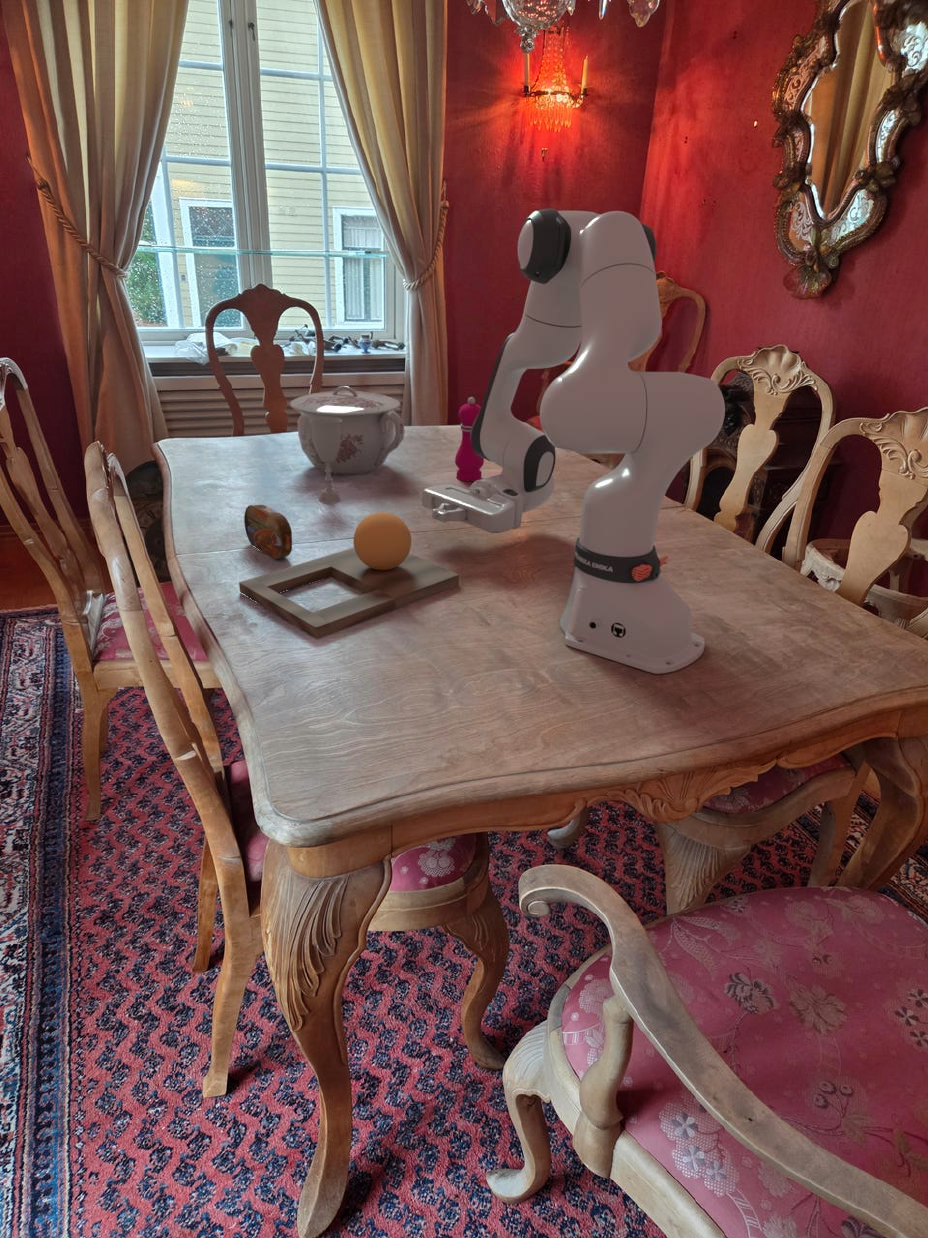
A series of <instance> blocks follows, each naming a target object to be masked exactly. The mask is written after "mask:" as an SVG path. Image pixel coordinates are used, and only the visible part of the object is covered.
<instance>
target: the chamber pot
mask: <svg viewBox="0 0 928 1238" xmlns="http://www.w3.org/2000/svg"><path fill="white" fill-rule="evenodd" d="M401 405H402V404H401V402H400V401H399V400H398V399H396V398H394V397H392V396H388V395H386V394H380V393H376V392H370V391H369V392H368V391H361V390H359V391H358V390H354V389H353V388H352V387H350V386H348V385H340V386H337V387H336V388H335V389H334V390H331V391H329V390H328V391H321V392H320V391H319V392H315V393H308V394H305V395H302V396H299V397H296V398H293V400H291V401H290V402H289V407H291V408H292V409H293V410H295V411H297V412H299V413H300V416H299V417H298V419H297V433H298V434H297V435H298V439H299V443H300V446H301V450H302V451H303V453H304V454H305V456H306V457H307V459H308V461H309V462H310V463H311V464H312V465H313V466H314V467H315V468H316V469H318V470H320V471H323V472H325V470H326V463H325V462H323V461H321V459H320V457H319V455H318V453H317V451H316V449H315V447H314V444H313V437H312V425H311V423H310V421H309V420H310V419H311V418H315V417H335V418H339V419H342V422H341V424H340V434H341V444H340V447H339V451H338V453H337V455H336V458H335V460H334V461H333V462H331V463H330V468H331V470H332V472H331V475H336V474H337V475H338V476H356V475H357V476H358V474H359V475H363V474H367V473H370V472H373V471H376V470H378V469H379V468H381V467H382V466H383V464H384V463H385V462H386V460H387V458H388V457H389V455H390V453H392V452H394V451H395V450H396V449H398V447H399V446H400V445H401V443H402V442H403V440H404V439H405V438H404V437H405V423H404V421H403V419H402V418H401V416H400V415H399V414H398V413H397V412H396V410H398V409H399V408H400V407H401Z"/></svg>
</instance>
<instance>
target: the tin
mask: <svg viewBox="0 0 928 1238" xmlns="http://www.w3.org/2000/svg"><path fill="white" fill-rule="evenodd" d="M243 517H244V518H243V519H244V520H243V521H244V522H243V523H244V529H245V533H246V536H247V539H248V541H249V543H250V545H251V546H252V545H253V546H255V547H256V548H258V549H259V550H260V551H259V550H258V551H259V552H261V551H262V552H263V553H262V552H261V553H262V554H264V553H265V554H266V556H267V555H268V556H269V557H268V556H267V557H268V558H270V559H272V560H278V559H283V558H286V557H288V556H290V555H291V554H292V551H293V536H292V534H293V533H292V532H293V531H292V527H291V525H290V523H289V521H288V519H287V517H285V515H283V514H282V513H280V512H277V511H276V510H275V509H273V508H271V507H268V506H266V505H265V504H255V505H251V504H250V505H248V506H247V507H246V508H245V511H244V516H243ZM253 546H252V547H253ZM256 548H255V549H256ZM265 554H264V555H265Z"/></svg>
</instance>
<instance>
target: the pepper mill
mask: <svg viewBox="0 0 928 1238" xmlns="http://www.w3.org/2000/svg"><path fill="white" fill-rule="evenodd" d="M481 407H482V406H480V405H479V404H476V399H475V397H473V396H470V397H468V399H467V403H465V404H462V405H461V406H460V408H459V411H458V419H459V420H460V422H461V423H460V428H459V429H460V430H461V443H460V446H459V448H458V449H457V452H456V454H455V457H454V458H455V459H454V463H455V465H456V467H457V468H458V469H457V470H456V479H457V480H458V481H462V482H475V481H477V480H480V479H482V473H483V472H482V470H481V468H482V467H483V466H484V463H485V459H484V458H482V457H480V456H478V455H476V454H475V452H474V451H473V449H472V445H471V438H470V434H471V429H472V426H473V423H474V421H475V419H476V417H477V415H478V414H479V412H480V409H481Z"/></svg>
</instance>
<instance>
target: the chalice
mask: <svg viewBox="0 0 928 1238" xmlns="http://www.w3.org/2000/svg"><path fill="white" fill-rule="evenodd" d="M309 421H310V423H311V425H312V437H313V444H314V447H315V449H316V451H317V453H318V455H319V457H320V459H321V461H323V462H325V463H326V470H325V471H324V472H325V474H326V476H325V478H324V480H325V481H326V482H325V483H326V487H325V488H324V489H322V491H321V493H320V495H319V499H318V501H319V502H320V503H322V504H335V503H340V502H341V501H342V499H341V497H340V494H339V492H338V491H337V489H336V488H333V487H332V486H333V485H332V481H333V480H334V479H333V478H332V476H331V475H332V474H331V472H332V470H331V468H330V463H331V462H333V461H334V460H335V458H336V455H337V453H338V451H339V447H340V444H341V434H340V424H341V422H342V419H339V418H335V417H315V418H311V419H310V420H309Z"/></svg>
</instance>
